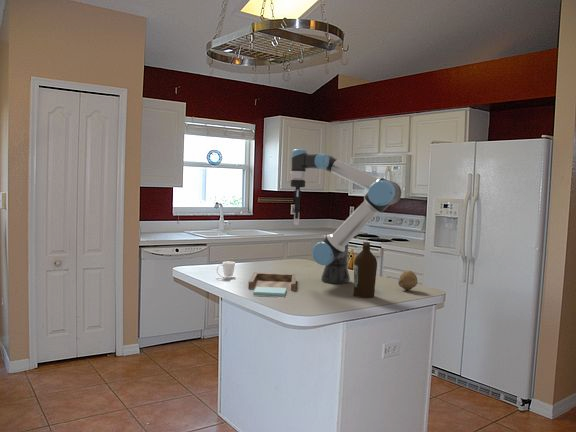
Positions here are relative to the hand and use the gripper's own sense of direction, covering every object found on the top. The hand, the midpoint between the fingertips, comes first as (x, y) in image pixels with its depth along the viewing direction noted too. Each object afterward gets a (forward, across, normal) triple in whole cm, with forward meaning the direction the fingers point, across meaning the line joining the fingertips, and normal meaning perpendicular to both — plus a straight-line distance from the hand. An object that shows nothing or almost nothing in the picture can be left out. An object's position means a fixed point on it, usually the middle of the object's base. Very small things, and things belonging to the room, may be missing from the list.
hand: (296, 224), depth 269 cm
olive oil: (+30, +30, +33) cm, 54 cm away
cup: (+30, 0, -36) cm, 47 cm away
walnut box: (+29, +16, -10) cm, 35 cm away
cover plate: (+30, +36, -10) cm, 48 cm away
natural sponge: (+30, +13, +57) cm, 66 cm away
